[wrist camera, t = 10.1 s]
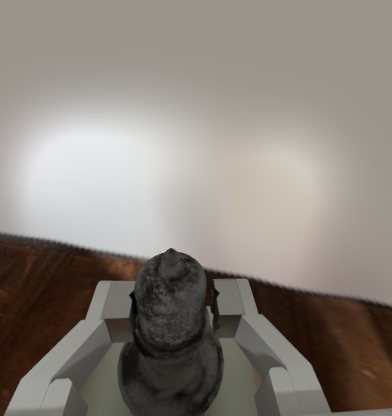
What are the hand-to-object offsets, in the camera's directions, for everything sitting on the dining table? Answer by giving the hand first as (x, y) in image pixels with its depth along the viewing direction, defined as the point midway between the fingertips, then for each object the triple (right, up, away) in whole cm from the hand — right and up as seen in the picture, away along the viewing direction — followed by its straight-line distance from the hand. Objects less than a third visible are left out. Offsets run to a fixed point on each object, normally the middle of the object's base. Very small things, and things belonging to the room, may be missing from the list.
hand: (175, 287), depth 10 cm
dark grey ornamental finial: (-1, -8, +5) cm, 9 cm away
